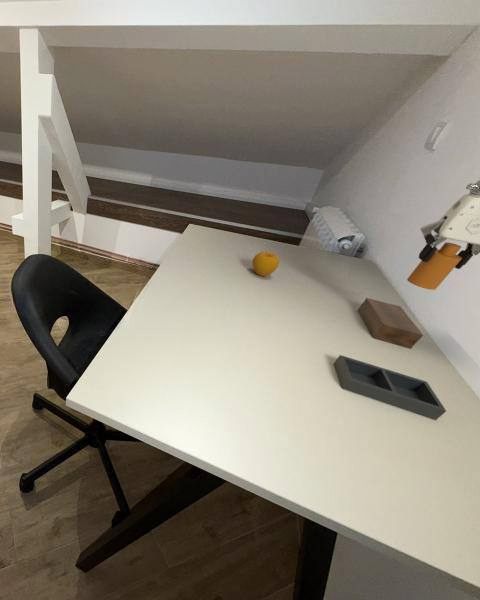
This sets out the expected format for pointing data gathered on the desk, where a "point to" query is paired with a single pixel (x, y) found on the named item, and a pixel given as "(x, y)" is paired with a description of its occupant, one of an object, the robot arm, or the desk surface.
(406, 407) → the grey divided tray
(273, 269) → the apple
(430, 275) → the bottle
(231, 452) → the desk surface
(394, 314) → the wooden block
